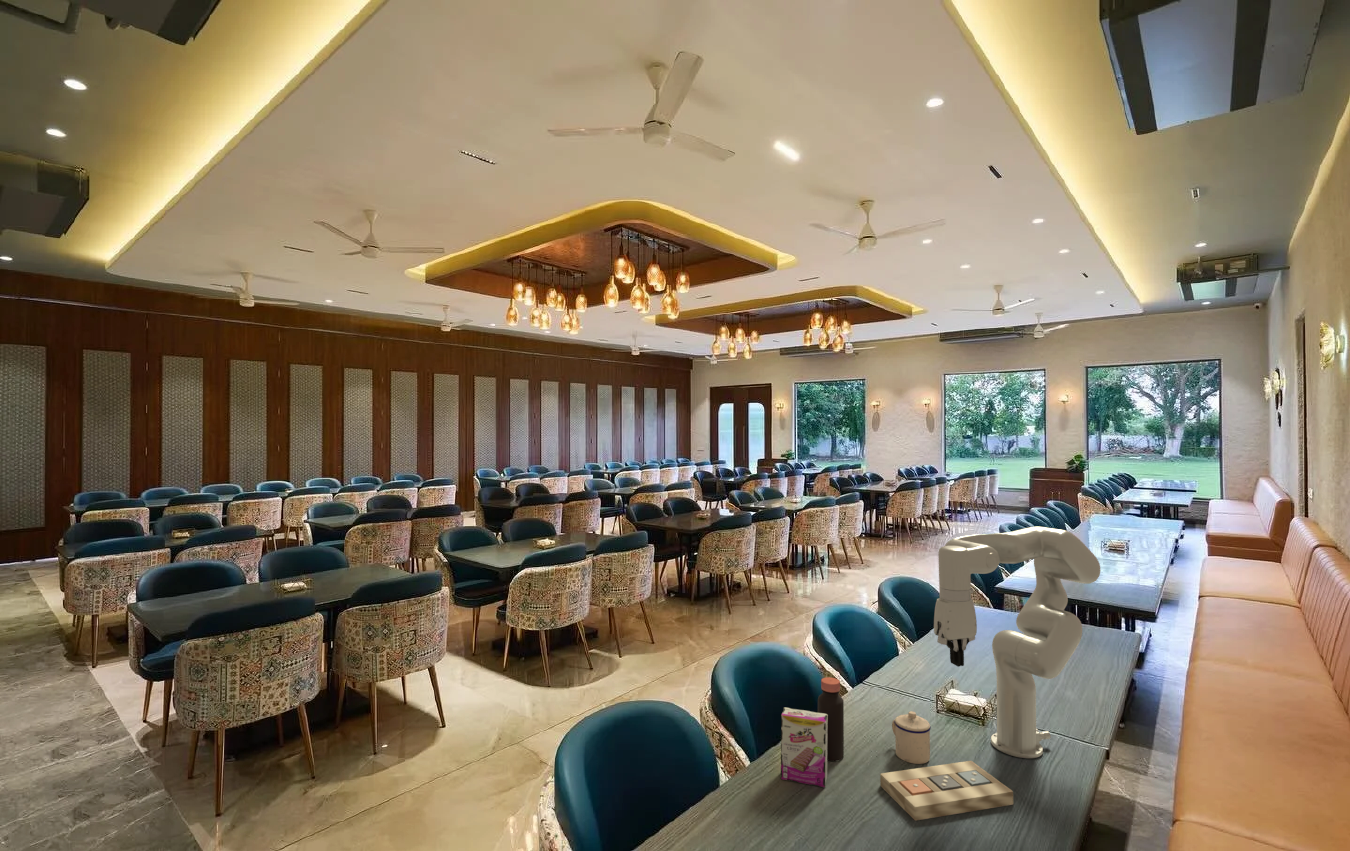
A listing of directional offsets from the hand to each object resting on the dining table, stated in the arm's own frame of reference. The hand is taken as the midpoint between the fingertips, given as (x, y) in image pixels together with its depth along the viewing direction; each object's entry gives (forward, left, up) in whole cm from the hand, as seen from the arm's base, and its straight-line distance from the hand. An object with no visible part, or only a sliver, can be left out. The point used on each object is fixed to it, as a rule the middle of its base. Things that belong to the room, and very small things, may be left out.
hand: (957, 664), depth 160 cm
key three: (+12, +10, -26) cm, 30 cm away
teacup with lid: (+9, -9, -27) cm, 29 cm away
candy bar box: (+42, -4, -27) cm, 50 cm away
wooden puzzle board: (+12, +10, -27) cm, 31 cm away
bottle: (+30, -13, -27) cm, 42 cm away
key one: (+20, +10, -26) cm, 34 cm away
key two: (+4, +10, -26) cm, 28 cm away
